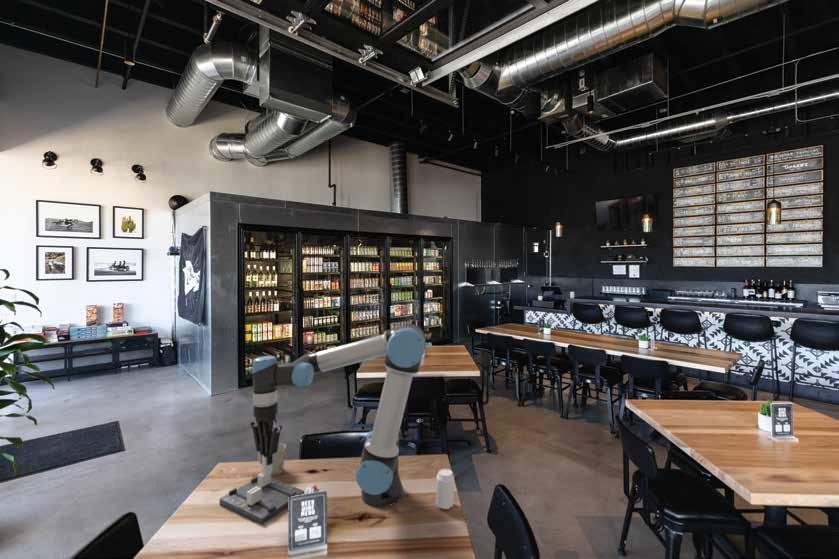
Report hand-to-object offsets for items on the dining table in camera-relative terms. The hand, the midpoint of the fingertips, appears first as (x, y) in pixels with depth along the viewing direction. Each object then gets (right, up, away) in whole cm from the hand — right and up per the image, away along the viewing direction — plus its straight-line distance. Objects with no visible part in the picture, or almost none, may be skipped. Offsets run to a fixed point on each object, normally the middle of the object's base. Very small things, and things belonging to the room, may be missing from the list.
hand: (267, 473), depth 127 cm
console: (-5, -14, +8) cm, 16 cm away
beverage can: (+60, -14, +5) cm, 62 cm away
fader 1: (-6, -11, +3) cm, 13 cm away
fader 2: (-7, -11, +14) cm, 19 cm away
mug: (-10, -13, +27) cm, 32 cm away
